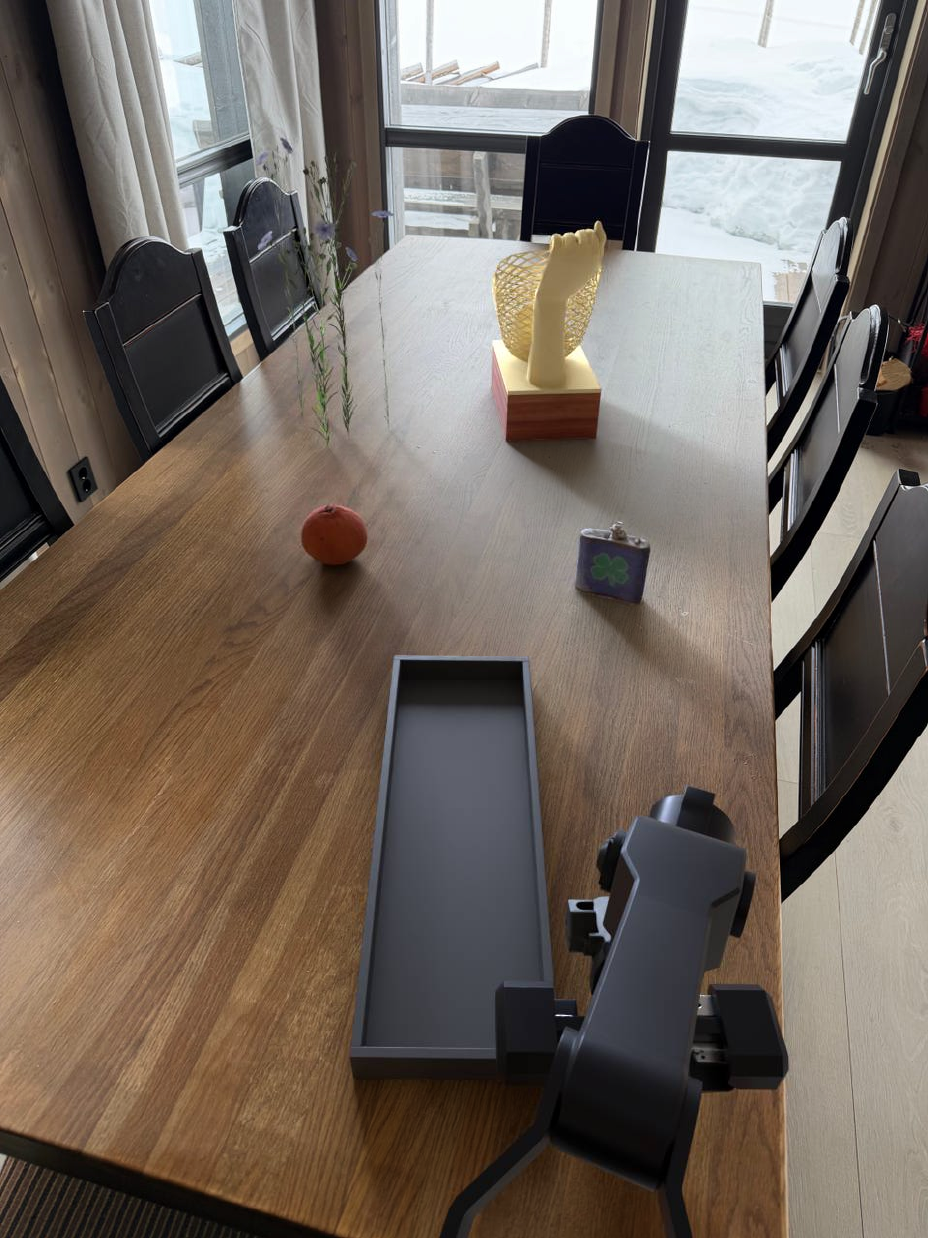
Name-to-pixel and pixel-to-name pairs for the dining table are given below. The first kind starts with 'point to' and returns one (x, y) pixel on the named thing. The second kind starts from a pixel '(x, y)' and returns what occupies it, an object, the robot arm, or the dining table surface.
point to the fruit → (333, 534)
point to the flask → (612, 564)
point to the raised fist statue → (548, 342)
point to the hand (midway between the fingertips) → (620, 1089)
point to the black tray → (451, 870)
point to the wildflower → (325, 231)
